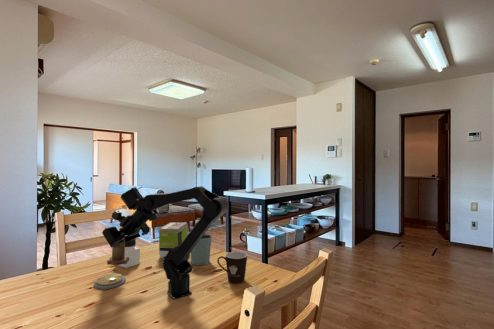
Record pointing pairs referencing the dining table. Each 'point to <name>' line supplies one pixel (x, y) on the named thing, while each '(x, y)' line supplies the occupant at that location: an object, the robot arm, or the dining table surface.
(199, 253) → the drinking glass
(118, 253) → the gear spindle
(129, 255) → the medicine bottle
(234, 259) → the coffee mug
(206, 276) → the dining table surface
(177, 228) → the tea box
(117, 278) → the hub
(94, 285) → the plate
